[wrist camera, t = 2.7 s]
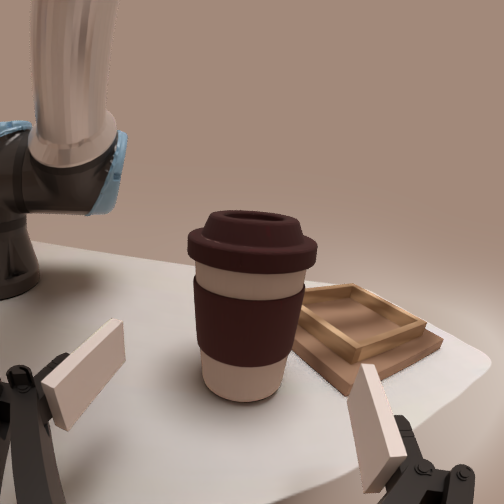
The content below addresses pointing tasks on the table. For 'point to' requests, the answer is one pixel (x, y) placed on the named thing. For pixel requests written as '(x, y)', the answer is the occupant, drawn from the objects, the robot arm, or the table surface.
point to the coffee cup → (248, 298)
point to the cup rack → (358, 334)
